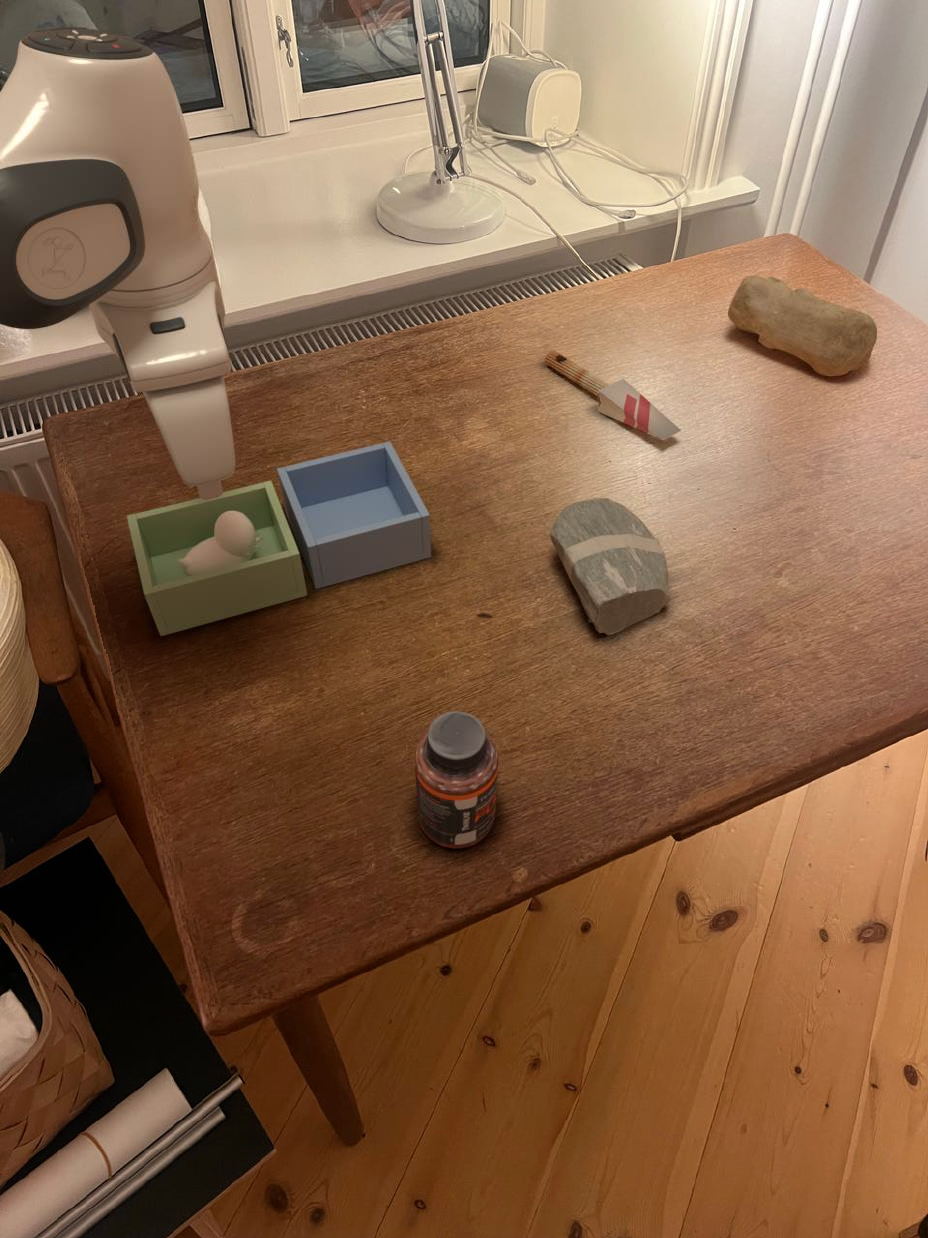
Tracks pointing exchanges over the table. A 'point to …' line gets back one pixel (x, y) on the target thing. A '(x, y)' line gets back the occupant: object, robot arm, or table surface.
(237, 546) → the toy creature
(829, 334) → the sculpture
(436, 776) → the supplement bottle
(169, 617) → the sage bin
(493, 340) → the table surface
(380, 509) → the blue bin
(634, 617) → the decorative stone
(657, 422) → the trowel
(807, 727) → the table surface
